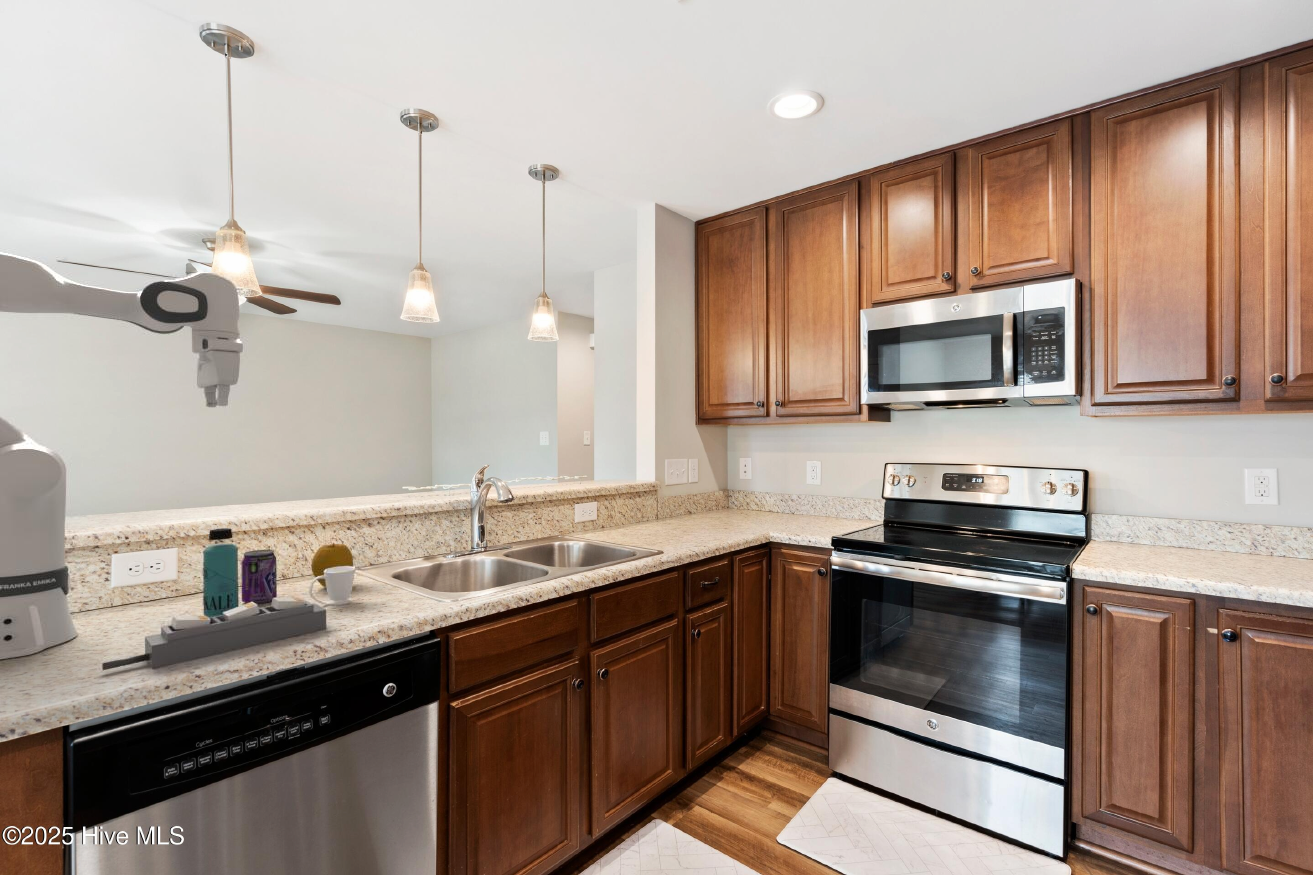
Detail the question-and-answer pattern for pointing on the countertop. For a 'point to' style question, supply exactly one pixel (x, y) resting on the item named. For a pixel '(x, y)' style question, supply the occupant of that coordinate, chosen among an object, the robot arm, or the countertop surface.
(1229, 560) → the countertop surface
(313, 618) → the rocker switch panel
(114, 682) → the countertop surface
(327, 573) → the cup
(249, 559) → the beverage can
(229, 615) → the rocker
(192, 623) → the block
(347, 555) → the apple
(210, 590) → the beverage bottle
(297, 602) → the rocker
